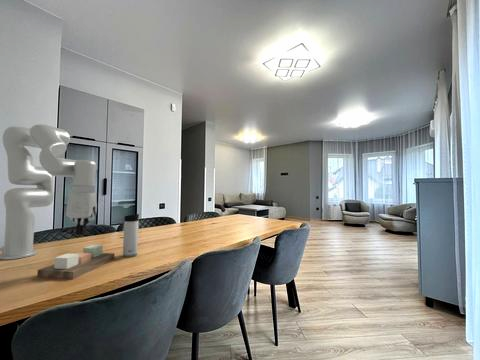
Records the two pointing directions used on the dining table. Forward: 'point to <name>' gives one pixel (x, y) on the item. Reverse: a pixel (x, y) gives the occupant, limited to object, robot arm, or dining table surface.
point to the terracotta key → (84, 257)
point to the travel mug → (130, 235)
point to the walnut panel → (75, 268)
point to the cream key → (66, 261)
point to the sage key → (93, 250)
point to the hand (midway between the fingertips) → (80, 234)
